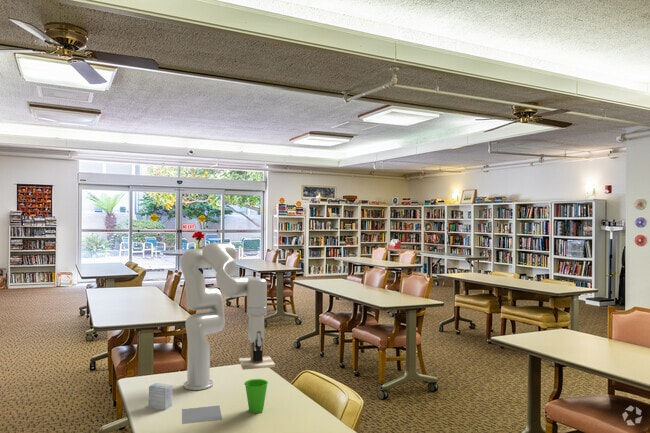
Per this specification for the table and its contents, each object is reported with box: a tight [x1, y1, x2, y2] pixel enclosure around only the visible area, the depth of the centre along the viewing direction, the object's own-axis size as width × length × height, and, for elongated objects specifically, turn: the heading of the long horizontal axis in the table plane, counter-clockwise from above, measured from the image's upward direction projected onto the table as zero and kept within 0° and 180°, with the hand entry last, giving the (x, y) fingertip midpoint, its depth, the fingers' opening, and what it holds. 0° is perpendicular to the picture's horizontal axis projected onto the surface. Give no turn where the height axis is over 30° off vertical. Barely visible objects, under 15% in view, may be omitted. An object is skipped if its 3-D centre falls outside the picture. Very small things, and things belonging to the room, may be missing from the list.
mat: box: [181, 405, 223, 425], centre depth 179 cm, size 14×14×1 cm
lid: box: [238, 342, 276, 371], centre depth 183 cm, size 12×12×8 cm
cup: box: [243, 378, 269, 414], centre depth 183 cm, size 9×9×11 cm
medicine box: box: [148, 382, 173, 411], centre depth 187 cm, size 8×4×9 cm, turn 71°
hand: (256, 358), depth 183 cm, fingers closed on lid, 4 cm apart
